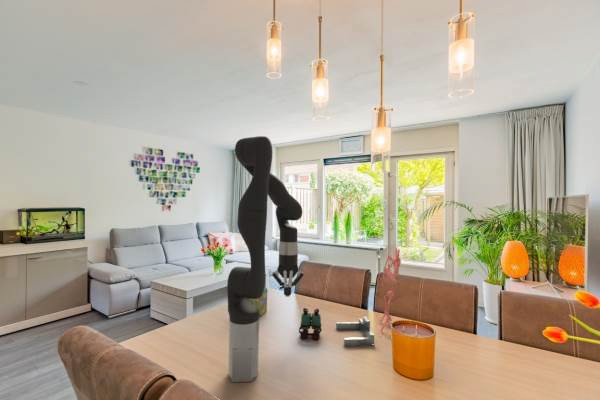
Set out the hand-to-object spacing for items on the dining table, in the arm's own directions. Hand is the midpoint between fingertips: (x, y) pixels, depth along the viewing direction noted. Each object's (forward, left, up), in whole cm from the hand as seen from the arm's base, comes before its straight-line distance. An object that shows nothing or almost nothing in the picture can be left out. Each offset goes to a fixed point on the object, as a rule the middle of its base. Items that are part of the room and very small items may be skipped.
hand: (287, 296), depth 119 cm
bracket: (0, -26, -17) cm, 31 cm away
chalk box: (+26, +15, -17) cm, 34 cm away
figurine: (+6, -47, -17) cm, 51 cm away
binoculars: (0, -9, -17) cm, 19 cm away
